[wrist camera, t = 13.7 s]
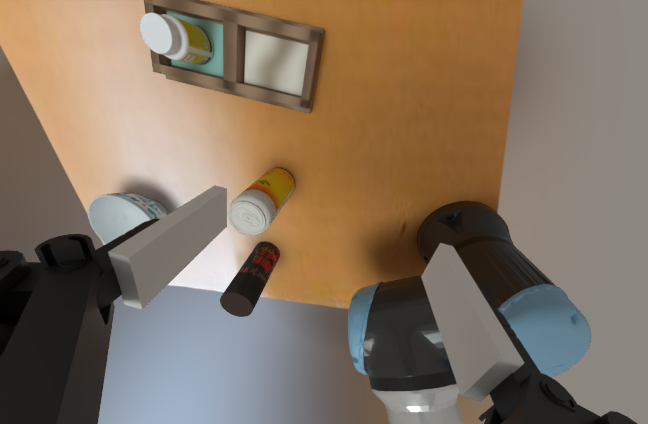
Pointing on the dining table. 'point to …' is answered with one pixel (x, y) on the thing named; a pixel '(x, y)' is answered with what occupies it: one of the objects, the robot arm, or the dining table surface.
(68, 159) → the dining table surface
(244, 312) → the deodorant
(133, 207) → the chinaware
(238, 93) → the divided tray
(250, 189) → the yellow canister
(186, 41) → the supplement bottle
